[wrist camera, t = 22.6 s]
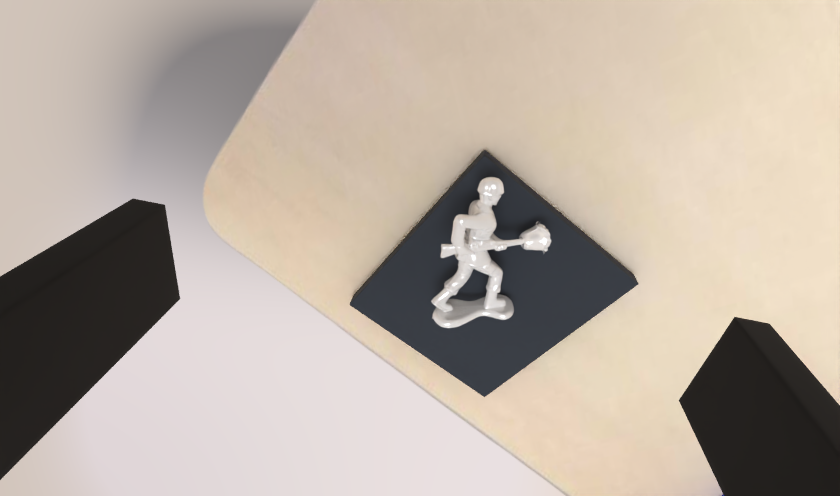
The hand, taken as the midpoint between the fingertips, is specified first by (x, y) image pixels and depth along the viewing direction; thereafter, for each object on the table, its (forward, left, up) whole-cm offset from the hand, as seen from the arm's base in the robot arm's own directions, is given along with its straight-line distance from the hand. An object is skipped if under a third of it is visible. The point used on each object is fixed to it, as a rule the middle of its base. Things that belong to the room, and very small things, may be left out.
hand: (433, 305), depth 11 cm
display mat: (+12, -12, -26) cm, 31 cm away
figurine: (+12, -12, -23) cm, 29 cm away
